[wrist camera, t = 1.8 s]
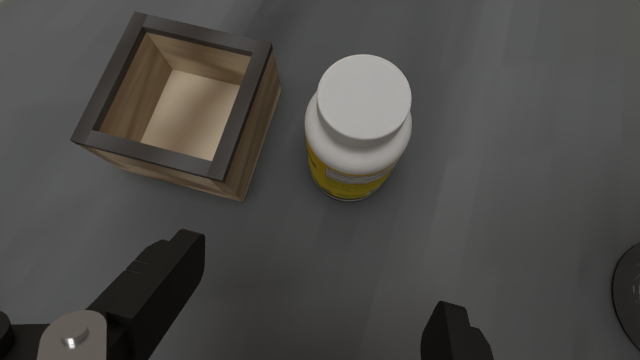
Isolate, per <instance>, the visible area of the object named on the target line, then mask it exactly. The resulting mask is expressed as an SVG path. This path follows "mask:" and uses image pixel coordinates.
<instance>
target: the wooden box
mask: <svg viewBox="0 0 640 360" xmlns="http://www.w3.org/2000/svg"><path fill="white" fill-rule="evenodd" d="M280 93H281V86H280V81H279V76H278V71H277V67H276V62H275V57H274V52H273V47H272V43H268V42H264V41H260V40H255V39H251V38H247V37H242V36H238V35H234V34H230V33H225V32H221V31H217V30H212V29H208V28H204V27H199V26H195V25H191V24H186V23H182V22H178V21H173V20H169V19H165V18H160V17H156V16H152V15H147V14H143V13H139V12H134V14H133V16H132V18H131V20H130V22H129V24H128V26H127V28H126V30H125V32H124V34H123V36H122V38H121V40H120V42H119V44H118V46H117V48H116V50H115V52H114V54H113V56H112V58H111V60H110V62H109V64H108V65H107V67H106V69H105V71H104V73H103V75H102V77H101V79H100V81H99V83H98V85H97V87H96V89H95V91H94V93H93V95H92V97H91V99H90V101H89V103H88V105H87V107H86V109H85V111H84V113H83V115H82V117H81V119H80V121H79V123H78V125H77V127H76V129H75V131H74V133H73V135H72V137H71V139H70V141H72V142H74V143H76V144H77V145H79V146H81V147H83V148H85V149H86V150H88V151H90V152H92V153H94V154H95V155H97V156H99V157H101V158H103V159H104V160H106V161H108V162H110V163H112V164H113V165H115V166H117V167H119V168H120V169H122V170H125V171H129V172H132V173H136V174H140V175H143V176H147V177H151V178H155V179H158V180H162V181H166V182H170V183H173V184H177V185H181V186H184V187H188V188H192V189H196V190H199V191H203V192H207V193H210V194H214V195H218V196H222V197H225V198H229V199H233V200H237V201H240V202H244V200H245V197H246V194H247V191H248V188H249V185H250V182H251V179H252V176H253V173H254V170H255V167H256V164H257V161H258V158H259V155H260V153H261V150H262V147H263V144H264V141H265V138H266V135H267V132H268V129H269V126H270V123H271V120H272V117H273V114H274V111H275V108H276V105H277V102H278V99H279V96H280Z"/></svg>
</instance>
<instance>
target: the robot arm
mask: <svg viewBox="0 0 640 360" xmlns="http://www.w3.org/2000/svg"><path fill="white" fill-rule="evenodd" d="M204 266H205V236H204V234H200V233H197V232H193V231H189V230H186V229H181V230H179V231H178V232H177V233H176V235H175V236H174V237H173V238H172V239H171V240H170V241H166V240H163V239H162V240H160V241H158V242H156V243H154V244H152V245H150V246H148V247H147V248H146V249H145V250H144V251H143V252H142V253H141V254H140V255H139V256H138V257H137V258H136V259H135V261H133V262H132V263H131V264H130V265H129V266H128V267H127V268H126V270H125V271H123V272H122V273H121V274H120V275H119V276H118V277H117V278H116V279H115V280H114V281H113V282H112V283H111V284H110V285H109V286H108V287H107V288H106V289H105V290H104V291H103V293H102V294H101V295H100V296H99V297H98V298H97V299H96V300H95V301H94V302H93V303H92V304H91V305H90V306H89V307H88V308H86V309H85V310H81V311H75V312H72V313H69V314H66V315H64V316H62V317H60V318H59V319H57V320H55V321H54V322H53V323H52V324H23V325H11V323H10V320H9V318H8V316H7V315H6V314H5V313H3V312H1V311H0V360H148V359H149V357H150V356H151V354H152V353H153V351H154V350H155V348H156V347H157V346H158V344H159V343H160V341H161V340H162V338H163V337H164V335H165V334H166V332H167V331H168V329H169V328H170V326H171V325H172V323H173V322H174V320H175V319H176V317H177V316H178V314H179V313H180V311H181V310H182V308H183V307H184V305H185V304H186V302H187V301H188V300H189V298H190V297H191V295H192V294H193V292H194V291H195V289H196V288H197V286H198V285H199V283H200V281H201V278H202V276H203V272H204ZM613 296H614V303H615V307H616V311H617V314H618V317H619V319H620V321H621V323H622V325H623V327H624V330H625V331H626V333H627V334H628V335H629V337H630V338H631V340H632V341H633V343H634V344H635V345H636V346H637V347H638V348H639V349H640V244H638V245H636V246H634V247H633V248H632V249H630V250H629V251H628V252H627V253H626V254H625V255H624V257H623V258H622V259H621V261H620V262H619V264H618V267H617V269H616V272H615V275H614V282H613ZM420 349H421V360H494V359H493V355H492V351H491V348H490V345H489V343H488V342H487V340H486V339H485V337H484V335H483V334H482V332H481V331H480V329H478V328H475V327H471V326H470V323H469V319H468V314H467V311H466V309H465V307H462V306H459V305H455V304H451V303H448V302H444V301H439V302H438V304H437V305H436V307H435V309H434V311H433V313H432V315H431V317H430V319H429V321H428V323H427V325H426V327H425V329H424V331H423V334H422V338H421V348H420Z"/></svg>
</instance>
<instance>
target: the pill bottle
mask: <svg viewBox="0 0 640 360" xmlns="http://www.w3.org/2000/svg"><path fill="white" fill-rule="evenodd" d="M410 107H411V90H410V86H409V84H408V81H407V79H406V78H405V76H404V75H403V73H402V72H401V71H400V70H399V69H398V68H397V67H396V66H395V65H394V64H392V63H391V62H389V61H387V60H385V59H383V58H380V57H378V56H373V55H365V54H361V55H353V56H349V57H345V58H343V59H341V60H339V61H337V62H336V63H334V64H333V65H332V66H331V67H329V69H328V70H327V71H326V72H325V73H324V75H323V76H322V78H321V80H320V82H319V85H318V89H317V92H316V93H315V94H314V96H313V97H312V99H311V101H310V102H309V105H308V107H307V110H306V115H305V135H306V143H307V153H308V161H309V168H310V172H311V175H312V178H313V180H314V182H315V183H316V185H317V186H318V187H319V188H320V189H321V190H322V191H323V192H324V193H325V194H327V195H329V196H330V197H332V198H335V199H338V200H341V201H357V200H362V199H364V198H367V197H369V196H370V195H372V194H373V193H375V192H376V191H377V190H378V189H379V188H380V187H381V185H382V184H383V183H384V181H385V180H386V178H387V177H388V175H389V174H390V172H391V171H392V169H393V168H394V166H395V165H396V163H397V162H398V160H399V158H400V157H401V155H402V154H403V152H404V150H405V149H406V147H407V144H408V142H409V139H410V136H411V130H412V119H411V114H410Z"/></svg>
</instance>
